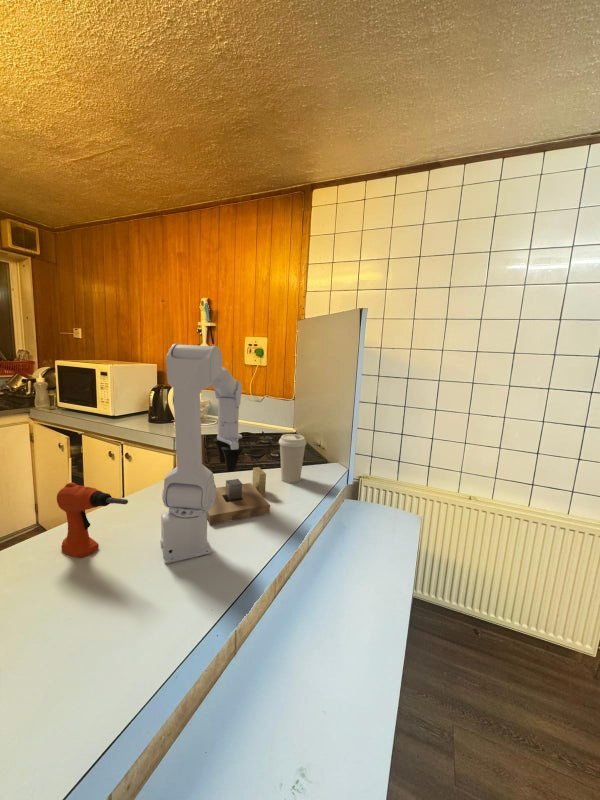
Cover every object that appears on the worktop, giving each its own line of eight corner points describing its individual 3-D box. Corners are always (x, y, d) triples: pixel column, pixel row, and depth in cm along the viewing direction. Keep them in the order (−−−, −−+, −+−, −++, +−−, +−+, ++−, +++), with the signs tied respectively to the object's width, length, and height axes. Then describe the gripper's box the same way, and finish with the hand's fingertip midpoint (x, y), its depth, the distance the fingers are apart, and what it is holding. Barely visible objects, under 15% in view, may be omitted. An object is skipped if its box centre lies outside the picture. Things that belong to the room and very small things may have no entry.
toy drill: (124, 568, 63) (114, 492, 61) (56, 555, 69) (45, 485, 68) (144, 554, 67) (135, 482, 66) (78, 543, 74) (69, 477, 72)
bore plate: (209, 525, 82) (209, 515, 82) (197, 498, 96) (197, 490, 96) (269, 513, 90) (269, 504, 89) (250, 490, 104) (250, 482, 103)
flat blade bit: (258, 496, 100) (259, 474, 99) (252, 488, 105) (253, 467, 104) (265, 495, 101) (265, 473, 100) (258, 488, 106) (259, 467, 105)
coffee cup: (302, 486, 109) (304, 441, 107) (274, 482, 111) (275, 439, 108) (306, 475, 118) (308, 434, 116) (280, 472, 120) (282, 432, 118)
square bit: (228, 509, 91) (229, 485, 90) (225, 504, 94) (225, 480, 93) (241, 507, 92) (242, 483, 91) (237, 502, 96) (238, 478, 94)
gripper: (249, 425, 90) (248, 473, 92) (234, 415, 103) (233, 457, 105) (224, 427, 87) (223, 476, 89) (211, 416, 100) (211, 459, 102)
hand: (227, 466), depth 97 cm, fingers open, 7 cm apart
